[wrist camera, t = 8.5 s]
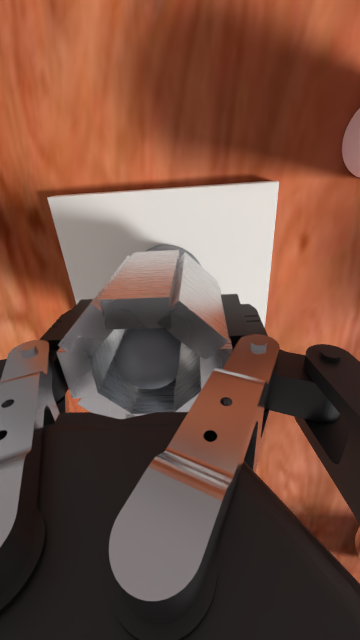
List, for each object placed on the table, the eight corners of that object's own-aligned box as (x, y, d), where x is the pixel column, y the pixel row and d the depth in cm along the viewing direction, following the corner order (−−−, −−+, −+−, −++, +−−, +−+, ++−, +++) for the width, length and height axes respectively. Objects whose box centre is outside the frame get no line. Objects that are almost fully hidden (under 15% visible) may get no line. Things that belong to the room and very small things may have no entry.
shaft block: (273, 180, 15) (365, 197, 7) (259, 338, 20) (302, 457, 12) (56, 195, 16) (-90, 225, 8) (94, 342, 20) (29, 455, 12)
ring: (220, 247, 12) (234, 294, 8) (219, 353, 15) (229, 432, 10) (94, 254, 12) (39, 302, 8) (116, 355, 15) (83, 432, 11)
